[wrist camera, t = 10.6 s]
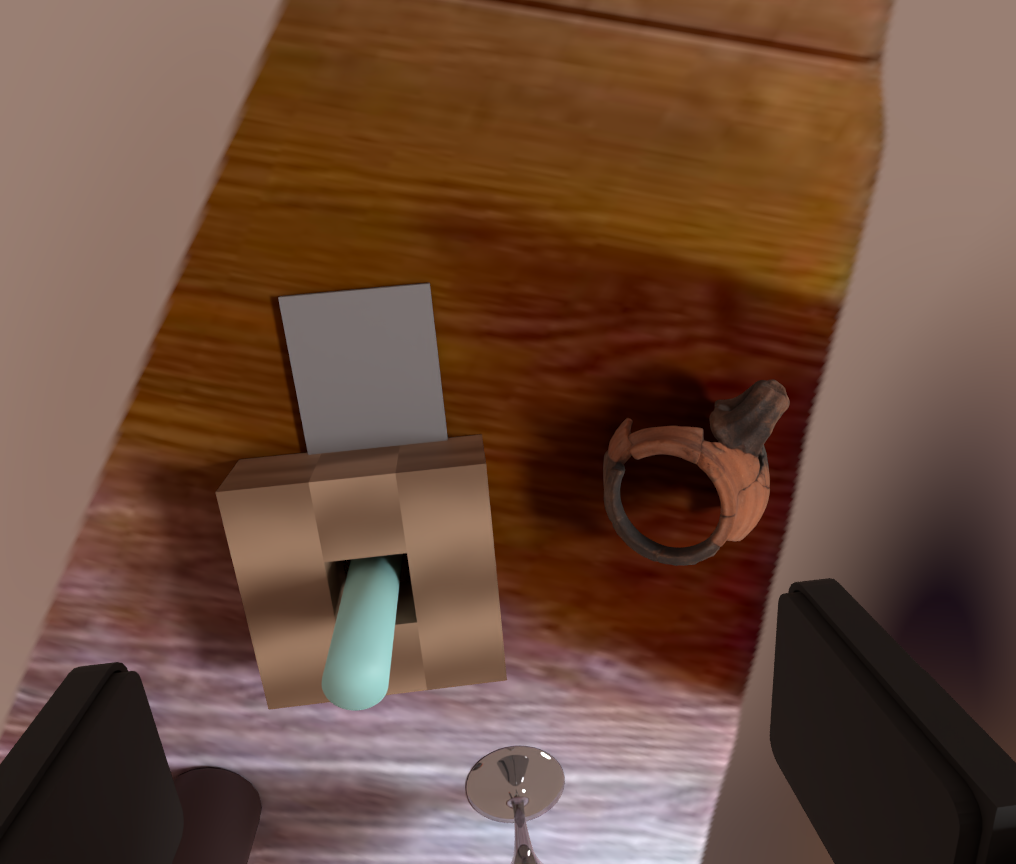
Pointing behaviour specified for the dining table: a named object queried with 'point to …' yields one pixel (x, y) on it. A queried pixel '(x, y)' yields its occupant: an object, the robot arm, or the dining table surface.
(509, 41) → the dining table surface
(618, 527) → the brown hollow rounded piece
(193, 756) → the dining table surface
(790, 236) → the dining table surface
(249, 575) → the hole block
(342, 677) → the peg
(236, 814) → the bottle
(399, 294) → the mat
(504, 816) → the wine glass
